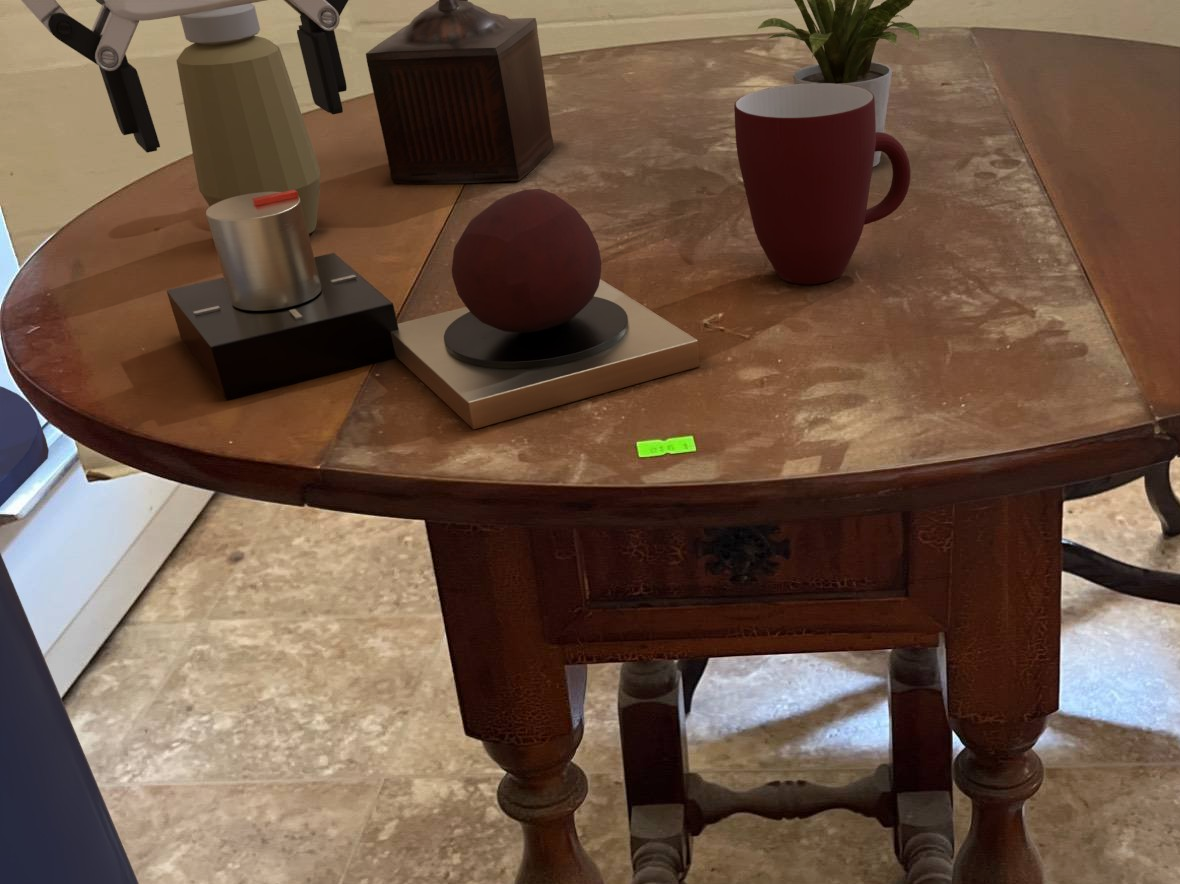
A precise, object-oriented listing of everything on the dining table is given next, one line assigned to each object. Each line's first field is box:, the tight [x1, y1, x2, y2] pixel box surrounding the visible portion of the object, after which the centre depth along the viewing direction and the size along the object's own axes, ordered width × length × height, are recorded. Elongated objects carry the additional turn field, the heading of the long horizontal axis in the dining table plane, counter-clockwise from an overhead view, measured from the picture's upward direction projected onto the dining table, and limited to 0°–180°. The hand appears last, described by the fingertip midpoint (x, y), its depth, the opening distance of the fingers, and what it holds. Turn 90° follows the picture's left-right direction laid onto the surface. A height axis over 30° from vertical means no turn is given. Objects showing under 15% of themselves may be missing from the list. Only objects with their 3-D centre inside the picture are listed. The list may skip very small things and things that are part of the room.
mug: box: [733, 83, 911, 285], centre depth 87 cm, size 11×8×10 cm
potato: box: [451, 188, 603, 333], centre depth 78 cm, size 7×8×7 cm
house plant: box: [756, 0, 921, 168], centre depth 103 cm, size 14×14×16 cm
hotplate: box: [391, 278, 701, 430], centre depth 80 cm, size 13×13×2 cm
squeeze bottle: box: [176, 3, 322, 235], centre depth 97 cm, size 8×8×18 cm
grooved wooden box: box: [365, 0, 555, 185], centre depth 109 cm, size 16×11×18 cm
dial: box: [205, 190, 321, 311], centre depth 81 cm, size 5×5×5 cm
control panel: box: [166, 252, 399, 401], centre depth 84 cm, size 10×11×3 cm
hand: (240, 127), depth 78 cm, fingers open, 9 cm apart
